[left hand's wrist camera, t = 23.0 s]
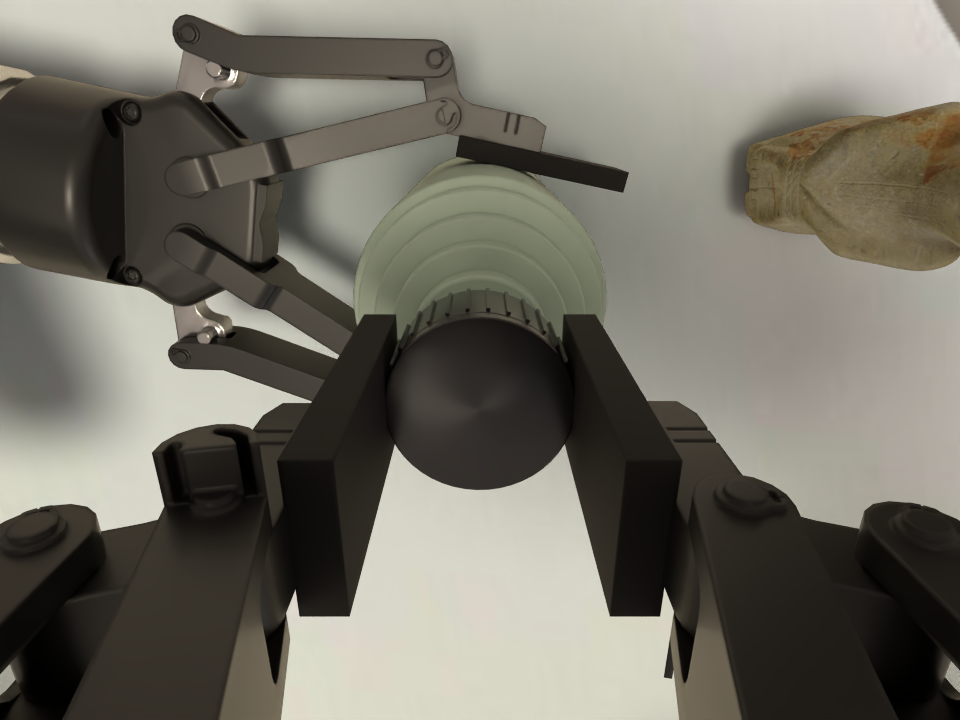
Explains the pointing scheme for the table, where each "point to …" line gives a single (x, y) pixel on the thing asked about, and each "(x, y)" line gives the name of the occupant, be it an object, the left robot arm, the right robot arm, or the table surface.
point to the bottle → (479, 247)
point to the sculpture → (866, 186)
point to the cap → (479, 391)
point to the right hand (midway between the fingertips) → (588, 285)
